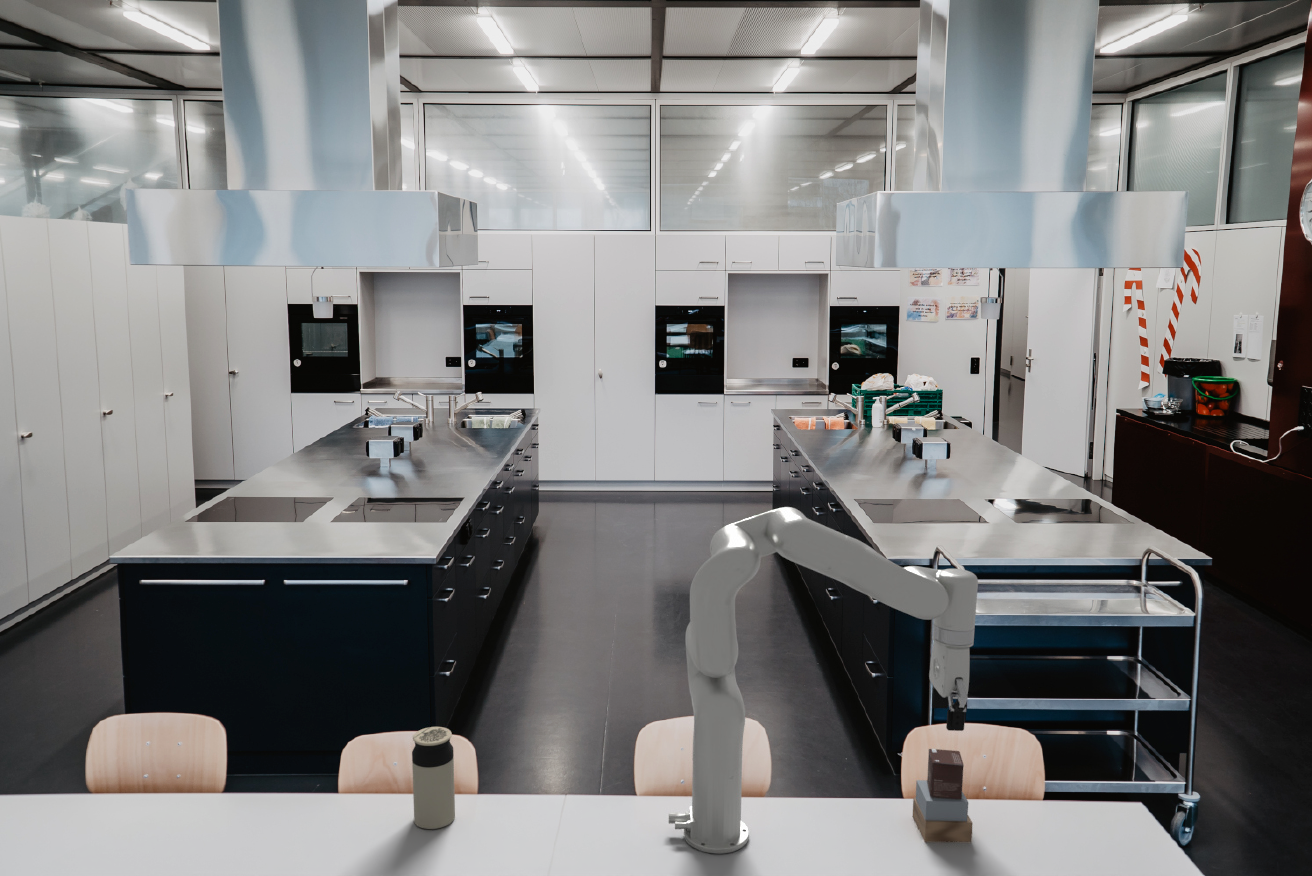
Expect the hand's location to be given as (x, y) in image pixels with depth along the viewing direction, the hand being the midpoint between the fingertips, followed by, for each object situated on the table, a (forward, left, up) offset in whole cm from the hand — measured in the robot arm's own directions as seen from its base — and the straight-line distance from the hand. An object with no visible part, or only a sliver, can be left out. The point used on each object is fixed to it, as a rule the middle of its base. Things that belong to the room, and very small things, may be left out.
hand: (947, 718), depth 184 cm
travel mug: (-101, +2, -23) cm, 103 cm away
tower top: (0, 0, -19) cm, 19 cm away
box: (0, 0, -15) cm, 15 cm away
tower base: (0, 0, -24) cm, 24 cm away
